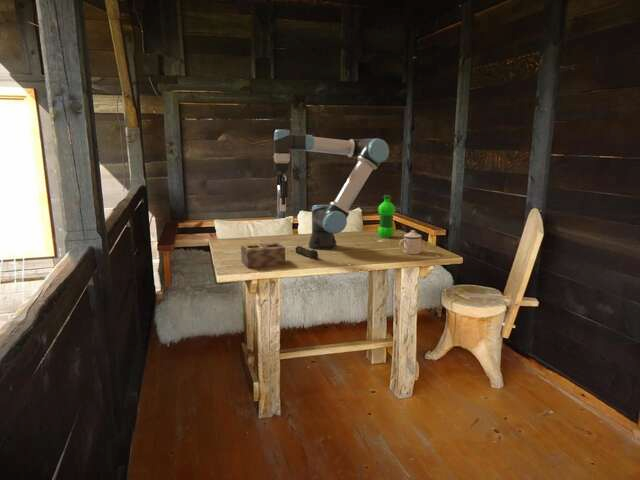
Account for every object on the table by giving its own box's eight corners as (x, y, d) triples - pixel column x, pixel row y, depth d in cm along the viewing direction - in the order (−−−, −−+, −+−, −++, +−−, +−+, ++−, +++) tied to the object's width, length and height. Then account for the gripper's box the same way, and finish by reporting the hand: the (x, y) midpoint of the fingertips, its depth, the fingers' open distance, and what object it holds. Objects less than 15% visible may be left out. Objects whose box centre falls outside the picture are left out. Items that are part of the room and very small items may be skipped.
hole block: (277, 258, 235) (277, 242, 233) (285, 264, 224) (285, 247, 222) (241, 261, 228) (240, 244, 226) (247, 268, 217) (247, 250, 215)
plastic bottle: (374, 235, 292) (375, 194, 287) (390, 235, 295) (392, 194, 290) (380, 239, 283) (381, 196, 278) (397, 238, 285) (398, 196, 280)
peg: (284, 216, 239) (284, 184, 236) (286, 218, 235) (286, 185, 232) (276, 217, 238) (276, 184, 234) (278, 218, 234) (278, 185, 231)
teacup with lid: (415, 250, 255) (416, 228, 253) (424, 253, 247) (425, 231, 244) (395, 251, 252) (396, 229, 249) (403, 255, 243) (404, 232, 241)
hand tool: (295, 253, 247) (295, 244, 246) (302, 252, 249) (302, 244, 248) (312, 261, 230) (312, 252, 229) (319, 260, 232) (319, 251, 231)
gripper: (269, 161, 238) (269, 208, 242) (279, 163, 222) (279, 213, 227) (283, 161, 240) (283, 207, 245) (294, 163, 225) (294, 212, 229)
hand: (281, 210), depth 236 cm, fingers closed on peg, 4 cm apart
